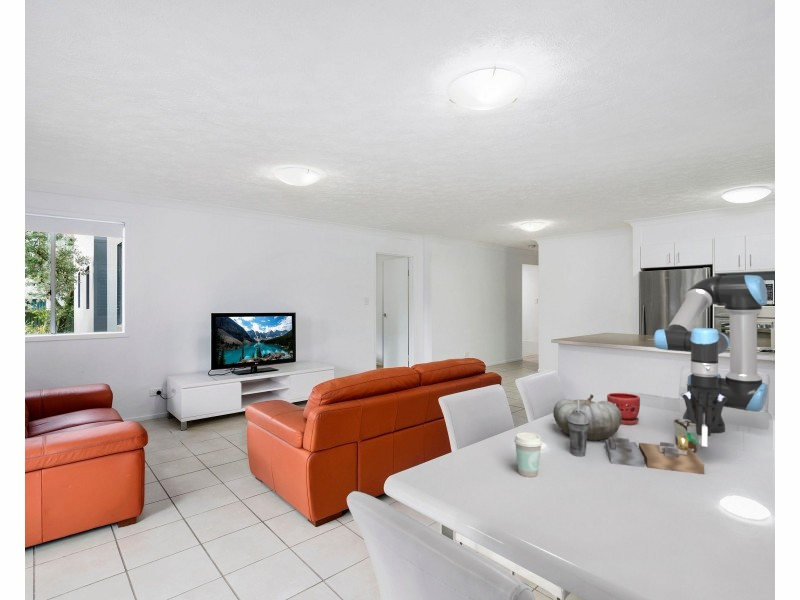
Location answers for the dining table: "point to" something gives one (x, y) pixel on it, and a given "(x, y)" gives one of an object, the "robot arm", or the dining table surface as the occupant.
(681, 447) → the bolt
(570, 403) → the gourd
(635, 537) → the dining table surface
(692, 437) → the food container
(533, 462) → the coffee cup
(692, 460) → the door board
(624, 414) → the plant pot
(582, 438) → the beverage cup
